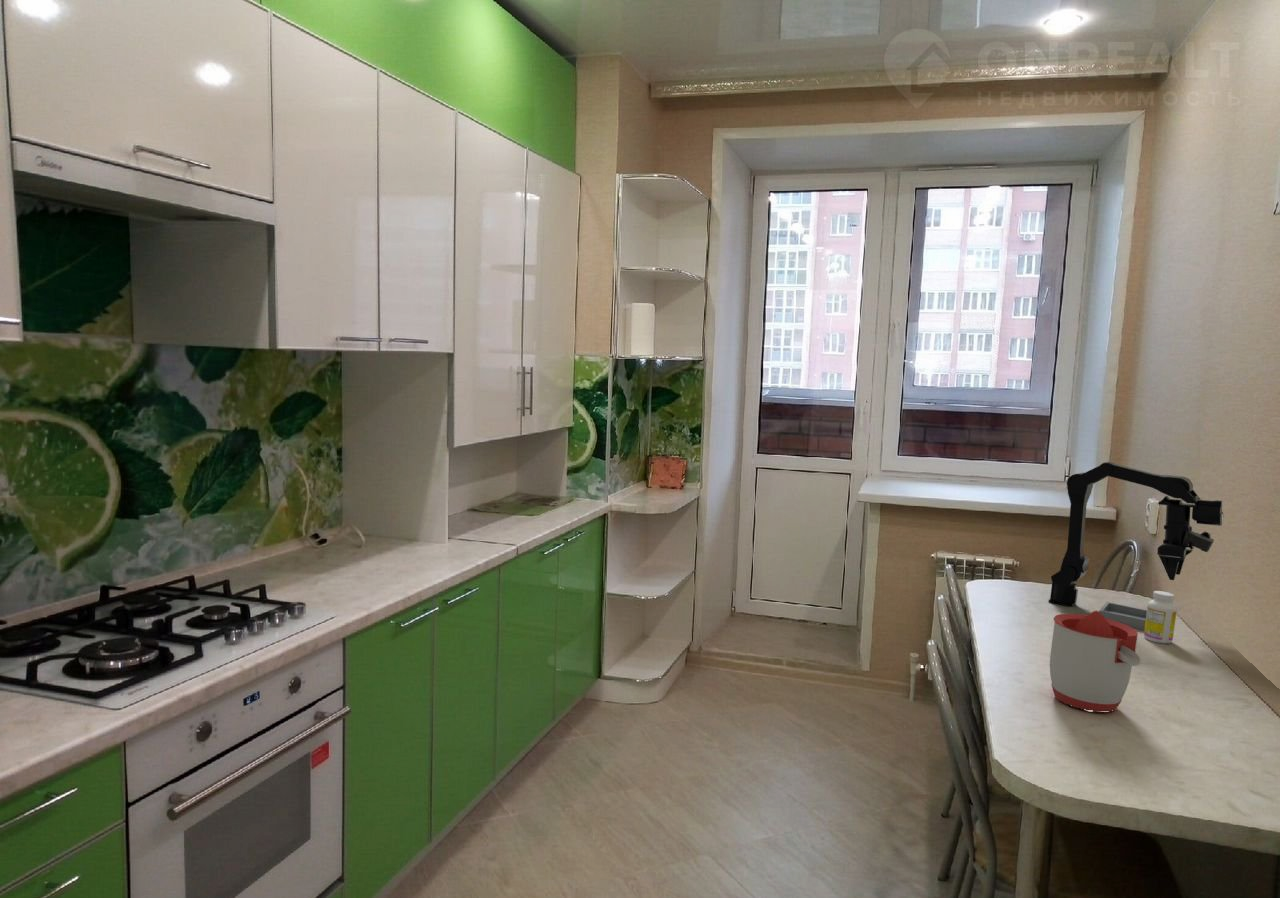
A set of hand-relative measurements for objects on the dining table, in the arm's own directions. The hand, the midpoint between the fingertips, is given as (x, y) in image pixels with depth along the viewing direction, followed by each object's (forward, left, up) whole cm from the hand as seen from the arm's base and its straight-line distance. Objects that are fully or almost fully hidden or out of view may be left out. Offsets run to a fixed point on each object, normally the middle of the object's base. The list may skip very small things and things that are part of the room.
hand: (1174, 577), depth 239 cm
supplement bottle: (-1, -17, -15) cm, 23 cm away
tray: (-10, -4, -14) cm, 18 cm away
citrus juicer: (-7, -82, -15) cm, 84 cm away
